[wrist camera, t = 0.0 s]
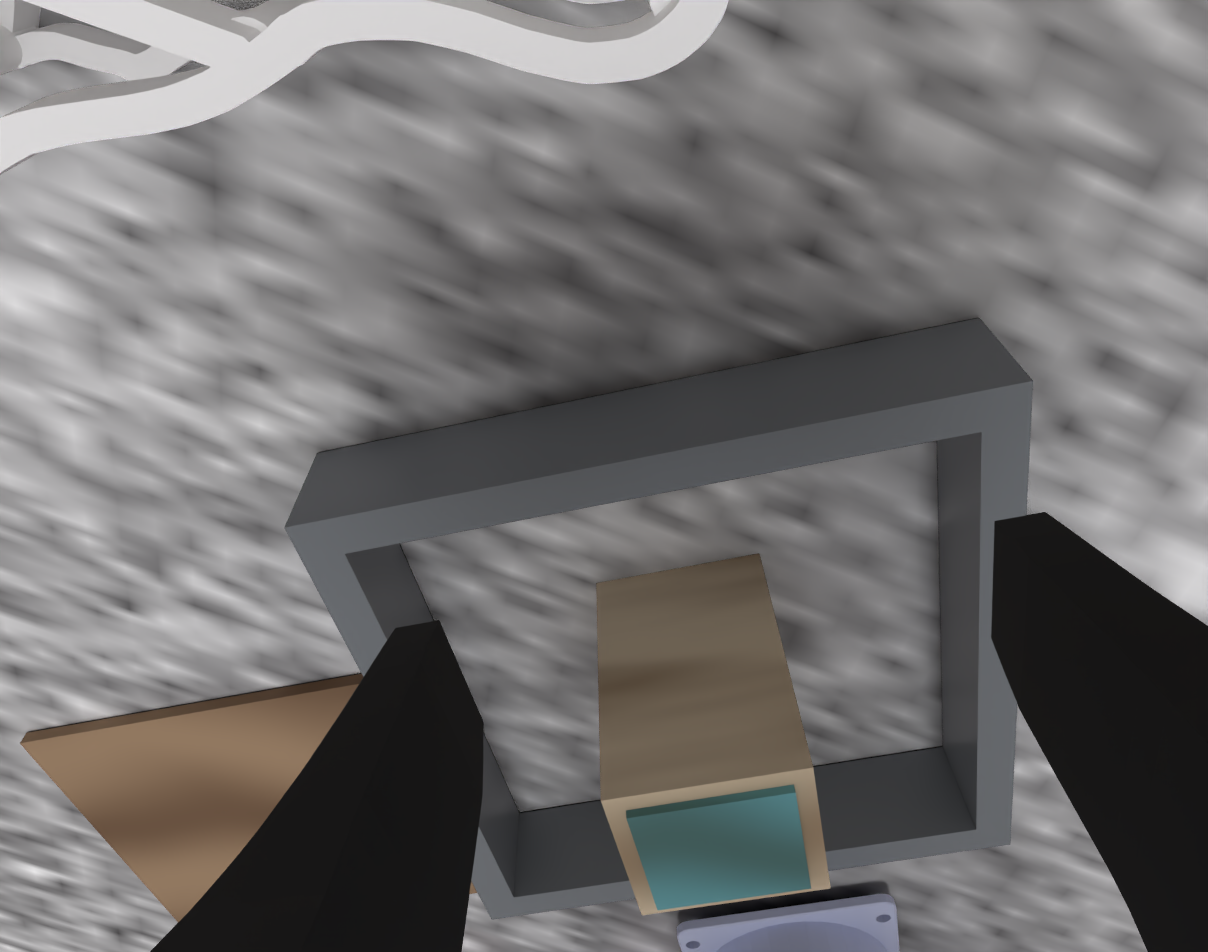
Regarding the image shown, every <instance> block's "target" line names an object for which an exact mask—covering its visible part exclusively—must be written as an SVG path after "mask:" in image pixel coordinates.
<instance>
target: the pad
mask: <svg viewBox="0 0 1208 952" xmlns="http://www.w3.org/2000/svg"><path fill="white" fill-rule="evenodd" d="M362 679H363V675H362V674H357V675H351V676H345V677H340V678H334V679H328V680H323V681H317V682H311V683H306V684H300V685H294V686H289V687H283V688H277V689H272V690H266V691H260V692H255V693H249V694H244V695H238V696H232V697H227V698H221V699H215V700H210V701H204V702H198V703H193V704H187V705H181V706H176V707H170V708H164V709H159V710H153V711H147V712H142V713H136V714H130V715H125V716H119V717H113V718H108V719H102V720H96V721H91V722H85V723H79V724H74V725H68V726H62V727H57V728H51V729H45V730H40V731H34V732H28V733H26V735H25V736H24V738H23V739H22V741H21V743H20V744H21V745H22V746H23V747H24V748H25V750H26V751H27V752H28V753H29V754H30V755H31V756H32V758H33V759H34V760H35V761H36V762H37V763H38V764H39V765H40V767H41V768H42V769H43V770H44V771H45V772H46V773H47V774H48V776H49V777H50V778H51V779H52V780H53V781H54V782H55V784H56V785H57V786H58V787H59V788H60V789H61V790H62V791H63V793H64V794H65V795H66V796H67V797H68V798H69V799H70V800H71V802H72V803H73V804H74V805H75V806H76V807H77V808H78V810H79V811H80V812H81V813H82V814H83V815H84V816H85V817H86V819H87V820H88V821H89V822H90V823H91V824H92V825H93V827H94V828H95V829H96V830H97V831H98V832H99V833H100V834H101V836H102V837H103V838H104V839H105V840H106V841H107V842H108V843H109V845H110V846H111V847H112V848H113V849H114V850H115V851H116V853H117V854H118V855H119V856H120V857H121V858H122V859H123V860H124V862H125V863H126V864H127V865H128V866H129V867H130V868H131V870H132V871H133V872H134V873H135V874H136V875H137V876H138V877H139V879H140V880H141V881H142V882H143V883H144V884H145V885H146V886H147V888H148V889H149V890H150V891H151V892H152V893H153V894H154V896H155V897H156V898H157V899H158V900H159V901H160V902H161V903H162V905H163V906H164V907H165V908H166V909H167V910H168V911H169V913H170V914H171V915H172V916H173V917H174V918H175V919H176V920H177V922H179V921H180V920H181V919H182V918H183V917H184V916H185V915H186V914H187V913H188V912H189V911H190V910H191V909H192V908H193V906H194V905H195V904H196V903H197V902H198V901H199V900H200V899H201V898H202V896H203V895H204V894H205V893H206V892H207V891H208V889H209V888H210V887H211V886H212V885H213V884H214V882H215V881H216V880H217V879H218V878H219V877H220V876H221V874H222V873H223V872H224V871H225V870H226V869H227V867H228V866H229V865H230V864H231V863H232V862H233V860H234V859H235V858H236V857H237V856H238V854H239V853H240V852H241V851H242V849H243V848H244V847H245V846H246V844H247V843H248V842H249V841H250V839H251V838H252V837H253V836H254V834H255V833H256V832H257V831H258V829H259V828H260V827H261V825H262V824H263V823H264V821H265V820H266V819H267V817H268V816H269V815H270V813H271V812H272V810H273V809H274V808H275V806H276V805H277V804H278V802H279V801H280V800H281V798H282V797H283V795H284V794H285V793H286V791H287V790H288V789H289V787H290V786H291V785H292V783H293V782H294V780H295V779H296V778H297V776H298V775H299V774H300V772H301V771H302V769H303V768H304V767H305V765H306V764H307V762H308V761H309V759H310V758H311V756H312V755H313V753H314V752H315V750H316V749H317V747H318V746H319V744H320V743H321V741H322V740H323V738H324V737H325V735H326V734H327V732H328V731H329V729H330V728H331V726H332V725H333V723H334V722H335V720H336V719H337V717H338V716H339V714H340V713H341V711H342V710H343V708H344V707H345V705H346V704H347V702H348V700H349V699H350V697H351V696H352V694H353V693H354V691H355V690H356V688H357V686H358V685H359V683H360V682H361V680H362ZM472 893H477V891H476V889H475V887H474V885H473V883H472V881H471V886H470V893H469V894H472Z"/></svg>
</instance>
